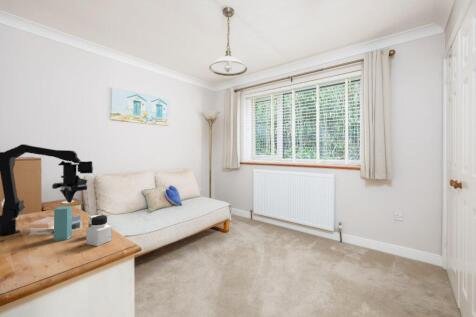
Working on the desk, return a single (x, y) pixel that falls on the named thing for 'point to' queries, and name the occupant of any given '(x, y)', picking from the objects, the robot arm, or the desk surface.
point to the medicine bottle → (98, 231)
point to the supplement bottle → (90, 221)
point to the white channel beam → (76, 226)
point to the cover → (76, 219)
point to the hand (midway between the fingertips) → (69, 202)
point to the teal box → (62, 222)
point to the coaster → (63, 239)
